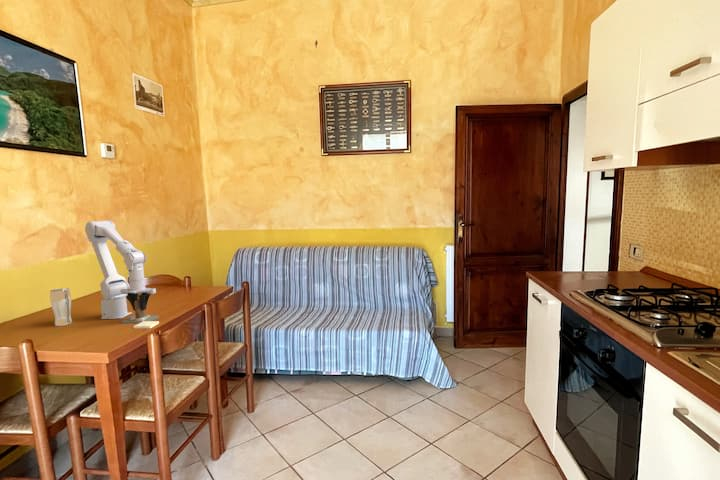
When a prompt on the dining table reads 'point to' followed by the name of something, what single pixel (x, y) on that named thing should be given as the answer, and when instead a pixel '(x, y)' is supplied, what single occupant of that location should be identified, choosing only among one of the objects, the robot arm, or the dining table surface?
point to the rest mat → (139, 321)
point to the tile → (146, 324)
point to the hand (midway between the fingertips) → (139, 309)
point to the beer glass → (61, 306)
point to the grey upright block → (139, 312)
